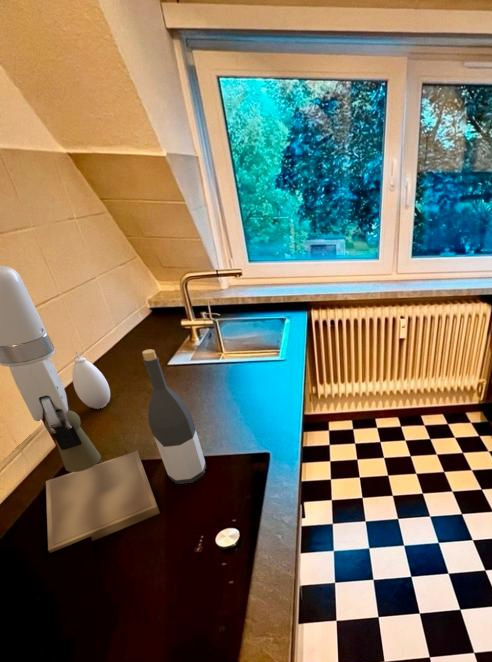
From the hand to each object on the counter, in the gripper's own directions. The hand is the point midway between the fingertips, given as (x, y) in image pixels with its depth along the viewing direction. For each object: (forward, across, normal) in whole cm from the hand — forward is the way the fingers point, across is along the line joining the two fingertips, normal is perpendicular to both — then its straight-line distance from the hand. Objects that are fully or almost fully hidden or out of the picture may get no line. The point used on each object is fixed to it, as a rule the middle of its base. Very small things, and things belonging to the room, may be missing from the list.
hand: (70, 437), depth 72 cm
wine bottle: (+16, +2, +17) cm, 24 cm away
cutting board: (+16, 0, 0) cm, 16 cm away
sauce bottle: (+16, -43, +4) cm, 46 cm away
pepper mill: (+6, 0, 0) cm, 6 cm away
